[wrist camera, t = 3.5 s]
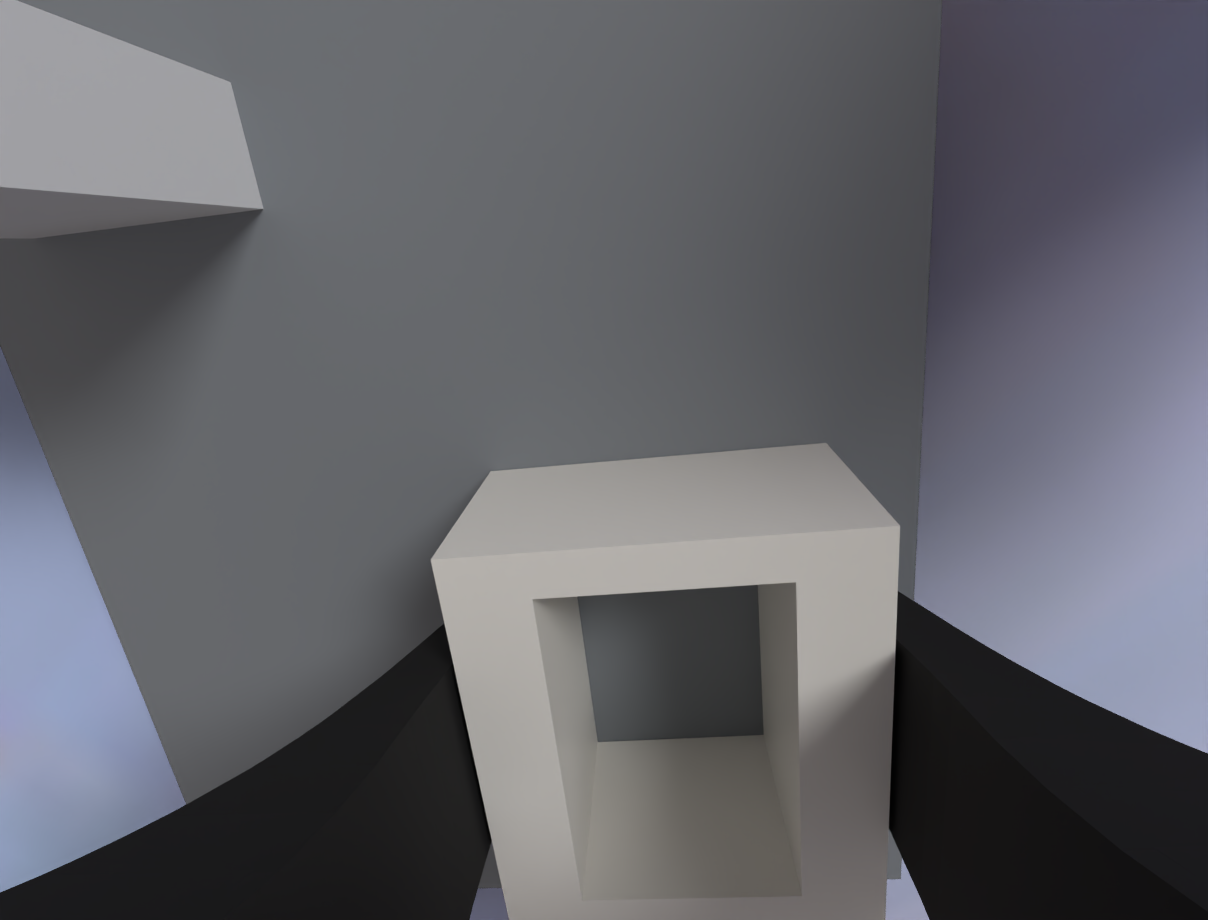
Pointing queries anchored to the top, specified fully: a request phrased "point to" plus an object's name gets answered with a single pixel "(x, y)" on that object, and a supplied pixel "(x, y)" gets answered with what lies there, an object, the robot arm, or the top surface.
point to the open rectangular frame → (688, 765)
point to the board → (446, 312)
